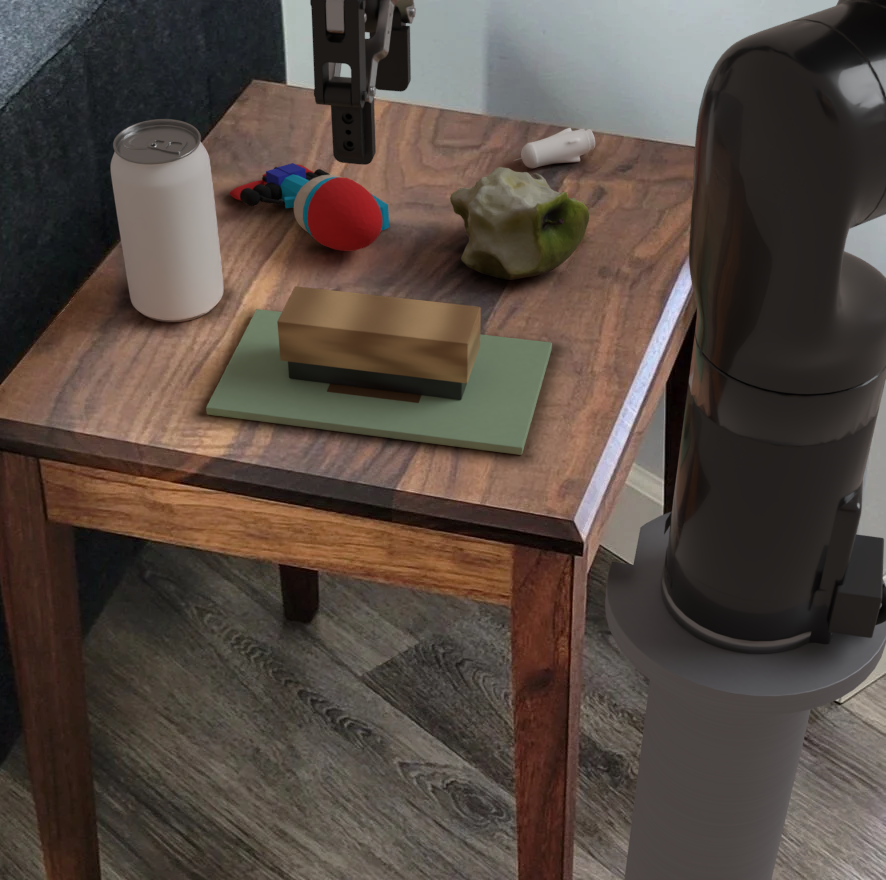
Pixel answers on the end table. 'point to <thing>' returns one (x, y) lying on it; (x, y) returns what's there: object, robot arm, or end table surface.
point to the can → (167, 220)
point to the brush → (379, 342)
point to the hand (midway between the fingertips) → (373, 122)
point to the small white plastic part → (558, 148)
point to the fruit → (518, 224)
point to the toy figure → (321, 205)
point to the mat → (388, 395)
